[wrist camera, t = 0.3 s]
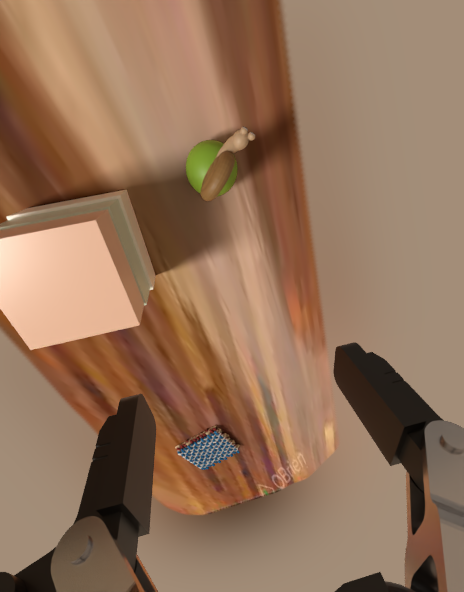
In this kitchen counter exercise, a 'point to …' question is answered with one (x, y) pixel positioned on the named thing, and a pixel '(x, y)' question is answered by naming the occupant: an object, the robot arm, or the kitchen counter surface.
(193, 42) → the kitchen counter surface
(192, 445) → the woven mat
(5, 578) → the robot arm
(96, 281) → the stacked pastel boxes
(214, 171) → the snail figurine
